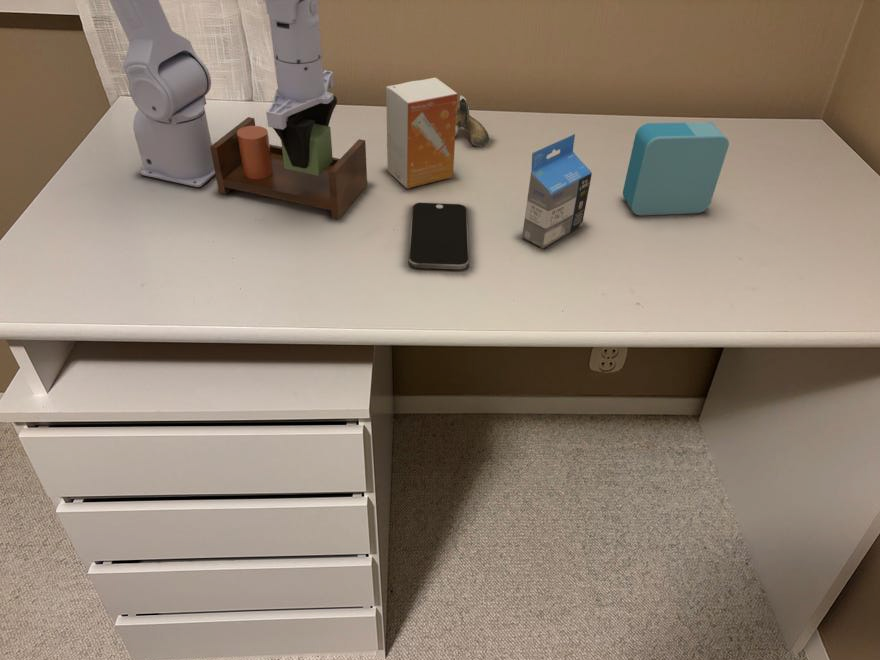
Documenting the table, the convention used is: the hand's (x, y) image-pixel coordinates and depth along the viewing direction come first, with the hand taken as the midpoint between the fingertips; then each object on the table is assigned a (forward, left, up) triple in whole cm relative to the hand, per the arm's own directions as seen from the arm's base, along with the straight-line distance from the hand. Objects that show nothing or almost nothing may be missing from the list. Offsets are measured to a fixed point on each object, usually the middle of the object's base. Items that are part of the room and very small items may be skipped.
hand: (308, 158), depth 97 cm
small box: (+12, +12, -6) cm, 18 cm away
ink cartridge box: (+34, +4, -6) cm, 34 cm away
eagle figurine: (+14, +27, -7) cm, 31 cm away
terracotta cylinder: (-8, 0, -4) cm, 9 cm away
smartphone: (+20, -3, -6) cm, 21 cm away
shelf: (-3, +1, -6) cm, 7 cm away
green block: (0, 0, -1) cm, 1 cm away
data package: (+48, +17, -6) cm, 51 cm away
